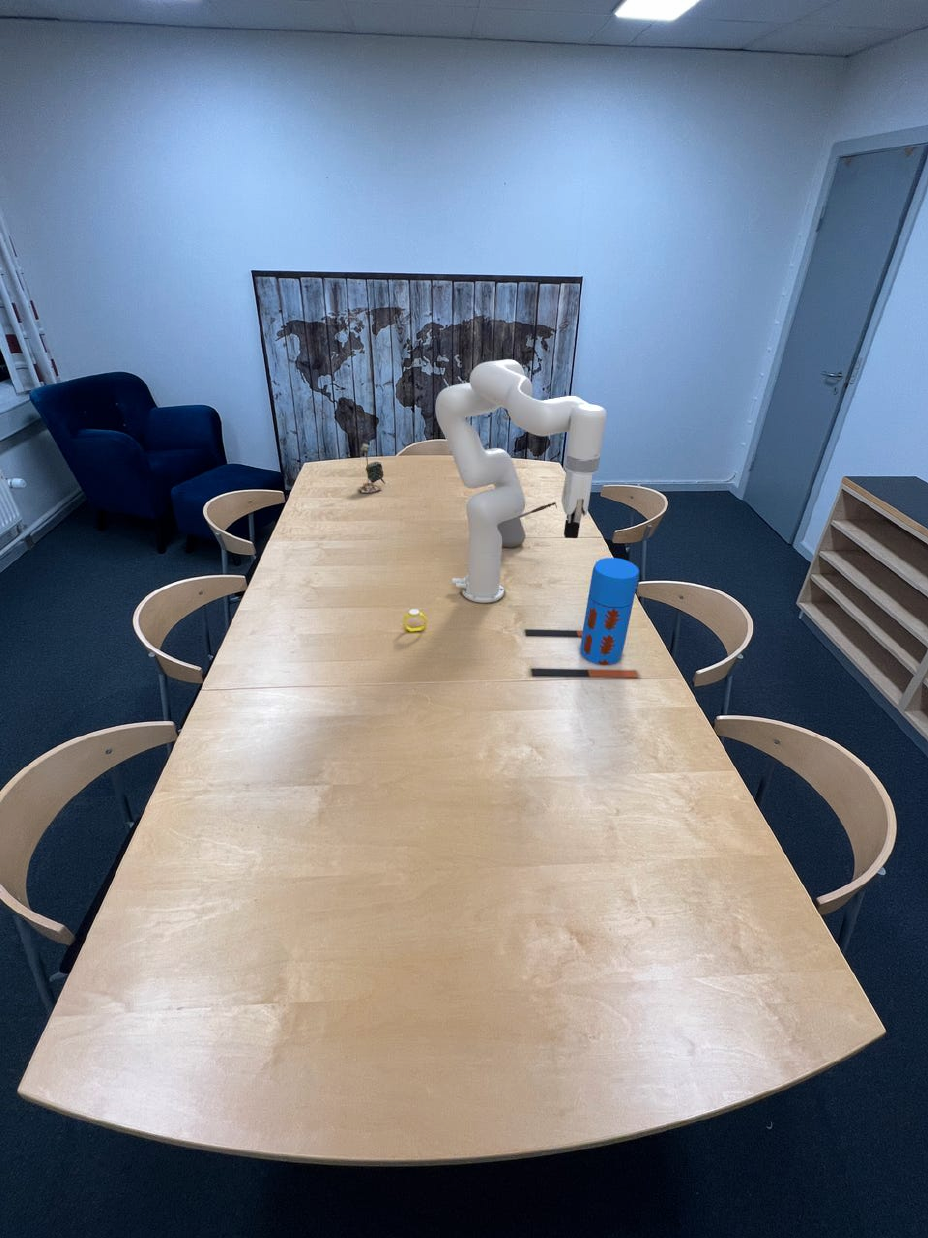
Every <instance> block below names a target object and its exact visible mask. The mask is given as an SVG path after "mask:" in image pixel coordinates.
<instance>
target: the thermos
mask: <svg viewBox="0 0 928 1238" xmlns="http://www.w3.org/2000/svg"><path fill="white" fill-rule="evenodd" d="M639 574H640V570H639V568H638V566H637V565H636V564H635V563H633V562H631V561H629V560H626V559H622V558H617V557H604V558H601V559H598V560H597V561H596V562H595V563H594V565H593V568H592V571H591V578H590V583H589V588H588V589H589V590H588V597H587V603H586V608H585V614H584V622H583V626H582V631H583V632H582V637H581V640H580V654H581V655H582V657H583V658H584V659H585V660H587V661H588V662H590V663H593V664H595V665H602V666H611V665H613V664H616V663H618V662H619V661H620V660H621V657H622V655H623V652H624V647H625V643H626V639H627V633H628V629H629V625H630V620H631V616H632V615H631V614H632V611H633V606H634V600H635V596H636V592H637V587H638V583H639V578H640V577H639V576H640V575H639Z"/></svg>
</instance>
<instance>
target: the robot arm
mask: <svg viewBox="0 0 928 1238" xmlns="http://www.w3.org/2000/svg"><path fill="white" fill-rule="evenodd" d="M533 387H534V386H533V383H532V381H531V380H530V378H528V377H527V376H526V373H525V370H524V368H523V366H522V365H521V364H520V363H519V362H518V361H516V360H514V359H510V358H509V359H508V358H507V359H499V360H490V361H484V362H481V363H479V364H478V365H476V366H475V367H474V368H473V369H472V370H471V372H470V375H469V382H463V383H457V384H452V385H449V386H447V387H445V388H443V389H442V390H441V391H440V392H439V393H438V394H437V396H436V399H435V404H434V405H435V406H434V407H435V410H434V411H435V412H434V413H435V418H436V421H437V423H438V426H439V428H440V430H441V432H442V433H443V436H444V437H445V439H446V441H447V444H448V446H449V449H450V452H451V455H452V457H453V460H454V461H453V462H454V463H455V466H456V469H457V472H458V475H459V477H460V480H461V482H462V484H463V485H464V487H466V488H467V489H474V490H475V489H479V488H484V487H486V486H490V485H493V486H494V488H491V489H490V488H489V489H487V490H483V491H479V492H478V493H475V494H473V495H472V497H470V498H469V499H468V501H467V503H466V508H465V510H466V512H465V513H466V517H467V524H468V556H467V574H466V575H465V577H462V578H457V577H456V578H455V577H453V578H451V579H452V580H451V581H452V582H451V585H452V586H455V588H456V589H461V593H462V595H463V597H465V598H466V599H467V600H469V601H472V602H474V603H481V604H486V603H493V602H494V603H495V602H497V601H499V600H501V599H502V598H503V597H504V595H505V589H504V586H503V585H502V584H500V579H501V563H502V552H503V550H502V549H503V546H502V536H501V534H500V532H499V531H498V529H497V525H498V524H499V523H502V522H504V521H507V520H510V519H513V518H516V517H518V516H520V515H521V514H524V511H525V508H526V499H525V494H524V491H523V487H522V484H521V481H520V478H519V476H518V472H517V470H516V467H515V463H514V461H513V459H512V457H511V455H510V454H509V453H508V452H507V451H506V450H505V449H503V448H500V447H492V448H488V449H485V448H484V446H483V444H482V442H481V438H480V435H479V433H478V432H477V430H476V429H475V428H474V427H473V425H472V424H470V423H469V422H468V421H467V420H466V418H468V417H476V416H482V415H486V414H491V413H493V412H495V411H497V410H498V409H499V408H502V409H505V410H507V414H508V416H509V418H510V420H511V422H512V423H513V424H514V425H515V426H517V427H518V428H520V429H521V430H523V431H526V432H527V433H530V434H532V435H535V436H537V437H548V436H553V435H557V434H561V433H568V436H567V437H568V438H567V443H566V451H565V452H566V453H565V460H564V465H563V466H564V470H565V471H566V472H565V476H564V481H563V487H562V492H561V493H562V494H561V505H562V509H563V511H564V514H565V515H566V519H565V523H564V529H563V535H564V538H565V539H578V538H579V532H580V526H581V519H582V516H583V517H584V516H586V515H587V514H588V510H589V504H590V497H591V491H592V485H593V475H594V474H597V473H598V470H599V465H600V459H601V455H602V453H601V452H602V448H603V441H604V436H605V430H606V423H607V417H608V415H607V414H608V413H607V410H606V409H605V408H604V407H602V406H601V405H597V404H590V403H588V402H587V401H585V400H583V399H582V398H580V397H578V396H574V395H566V396H561V397H555V398H554V397H553V398H549V399H545V400H539V399H537V398H534V397H533V392H534V388H533Z"/></svg>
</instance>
